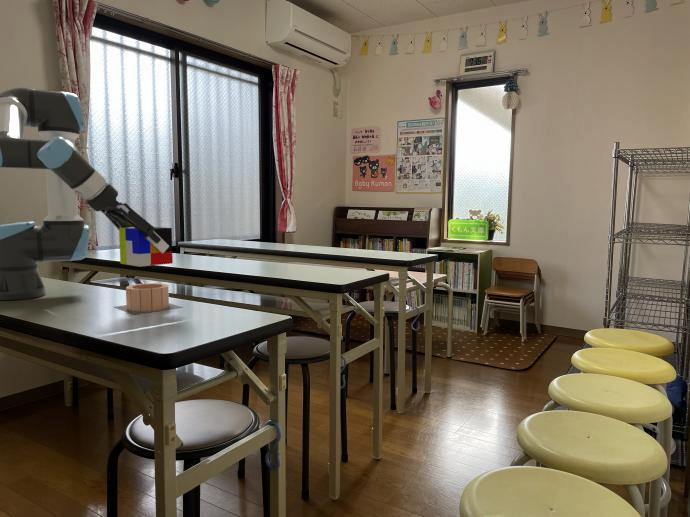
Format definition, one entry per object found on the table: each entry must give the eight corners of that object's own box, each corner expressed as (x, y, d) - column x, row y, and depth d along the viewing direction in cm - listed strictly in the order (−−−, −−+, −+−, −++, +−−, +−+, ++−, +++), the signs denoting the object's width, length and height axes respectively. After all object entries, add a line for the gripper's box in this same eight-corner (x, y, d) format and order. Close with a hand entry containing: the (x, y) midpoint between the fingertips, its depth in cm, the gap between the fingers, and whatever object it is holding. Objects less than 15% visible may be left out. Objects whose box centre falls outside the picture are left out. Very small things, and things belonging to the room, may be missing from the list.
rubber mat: (113, 308, 143) (113, 306, 143) (160, 302, 153) (160, 300, 153) (134, 316, 133) (134, 315, 133) (183, 309, 143) (183, 307, 143)
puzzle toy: (139, 266, 135) (138, 229, 134) (120, 263, 141) (119, 227, 140) (172, 263, 142) (171, 228, 141) (153, 260, 149) (152, 226, 148)
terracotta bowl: (120, 307, 143) (119, 286, 142) (157, 301, 151) (157, 281, 150) (137, 313, 135) (136, 291, 135) (175, 307, 143) (175, 286, 143)
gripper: (70, 201, 137) (129, 255, 150) (103, 201, 121) (167, 261, 134) (90, 182, 140) (146, 236, 153) (125, 180, 124) (185, 240, 137)
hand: (156, 248), depth 143 cm, fingers closed on puzzle toy, 10 cm apart
